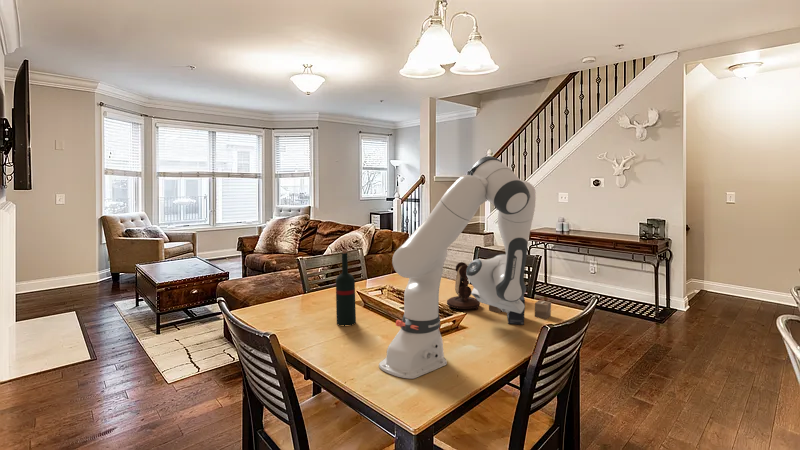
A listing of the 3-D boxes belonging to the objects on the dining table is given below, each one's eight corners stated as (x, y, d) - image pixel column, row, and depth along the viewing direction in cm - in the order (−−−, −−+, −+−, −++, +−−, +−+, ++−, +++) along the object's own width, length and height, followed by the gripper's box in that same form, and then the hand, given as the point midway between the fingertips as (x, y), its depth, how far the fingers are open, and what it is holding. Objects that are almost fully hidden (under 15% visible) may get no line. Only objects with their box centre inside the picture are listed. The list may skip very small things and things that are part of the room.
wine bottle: (358, 317, 175) (356, 247, 171) (354, 326, 164) (352, 251, 161) (339, 317, 175) (337, 247, 172) (334, 326, 165) (332, 251, 161)
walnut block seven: (499, 312, 180) (499, 298, 179) (488, 310, 183) (489, 296, 182) (504, 309, 184) (504, 296, 183) (493, 307, 187) (494, 294, 186)
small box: (525, 325, 164) (525, 299, 163) (508, 324, 165) (508, 298, 164) (522, 316, 174) (523, 292, 173) (506, 315, 176) (507, 291, 174)
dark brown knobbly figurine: (443, 302, 195) (444, 261, 192) (474, 301, 196) (475, 260, 194) (450, 312, 180) (451, 267, 178) (483, 311, 181) (484, 266, 179)
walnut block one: (546, 319, 171) (546, 304, 170) (534, 316, 174) (535, 302, 174) (550, 316, 175) (551, 301, 174) (538, 313, 178) (539, 299, 177)
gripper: (519, 290, 151) (533, 310, 158) (475, 280, 166) (489, 299, 174) (511, 304, 149) (526, 324, 156) (467, 292, 164) (482, 311, 171)
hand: (506, 311), depth 165 cm, fingers closed
